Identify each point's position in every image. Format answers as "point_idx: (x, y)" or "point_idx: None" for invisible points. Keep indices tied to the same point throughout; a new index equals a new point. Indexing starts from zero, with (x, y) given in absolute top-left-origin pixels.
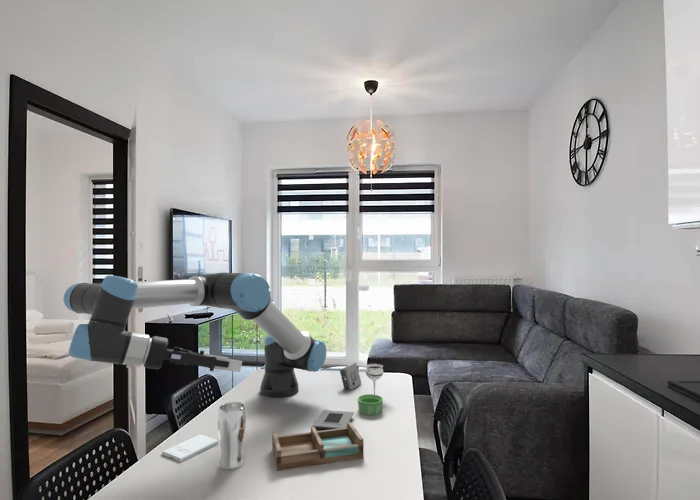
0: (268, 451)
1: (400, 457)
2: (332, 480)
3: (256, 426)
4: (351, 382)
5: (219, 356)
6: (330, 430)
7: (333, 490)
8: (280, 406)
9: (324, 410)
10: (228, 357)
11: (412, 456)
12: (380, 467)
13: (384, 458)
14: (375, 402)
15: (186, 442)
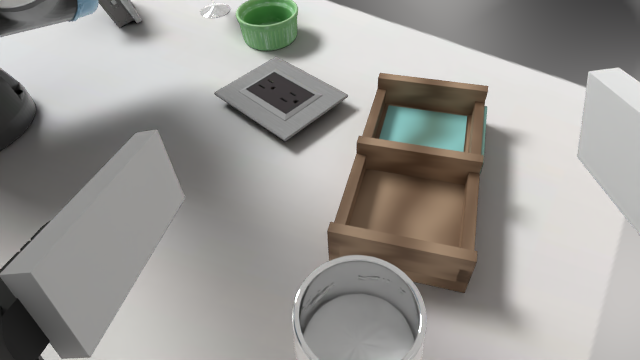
0: None
1: (502, 76)
2: (558, 202)
3: None
4: (131, 4)
5: (124, 173)
6: (375, 118)
7: (604, 216)
8: (76, 158)
9: (219, 92)
10: (157, 130)
11: (506, 62)
12: (530, 114)
13: (495, 96)
14: (262, 15)
15: None
